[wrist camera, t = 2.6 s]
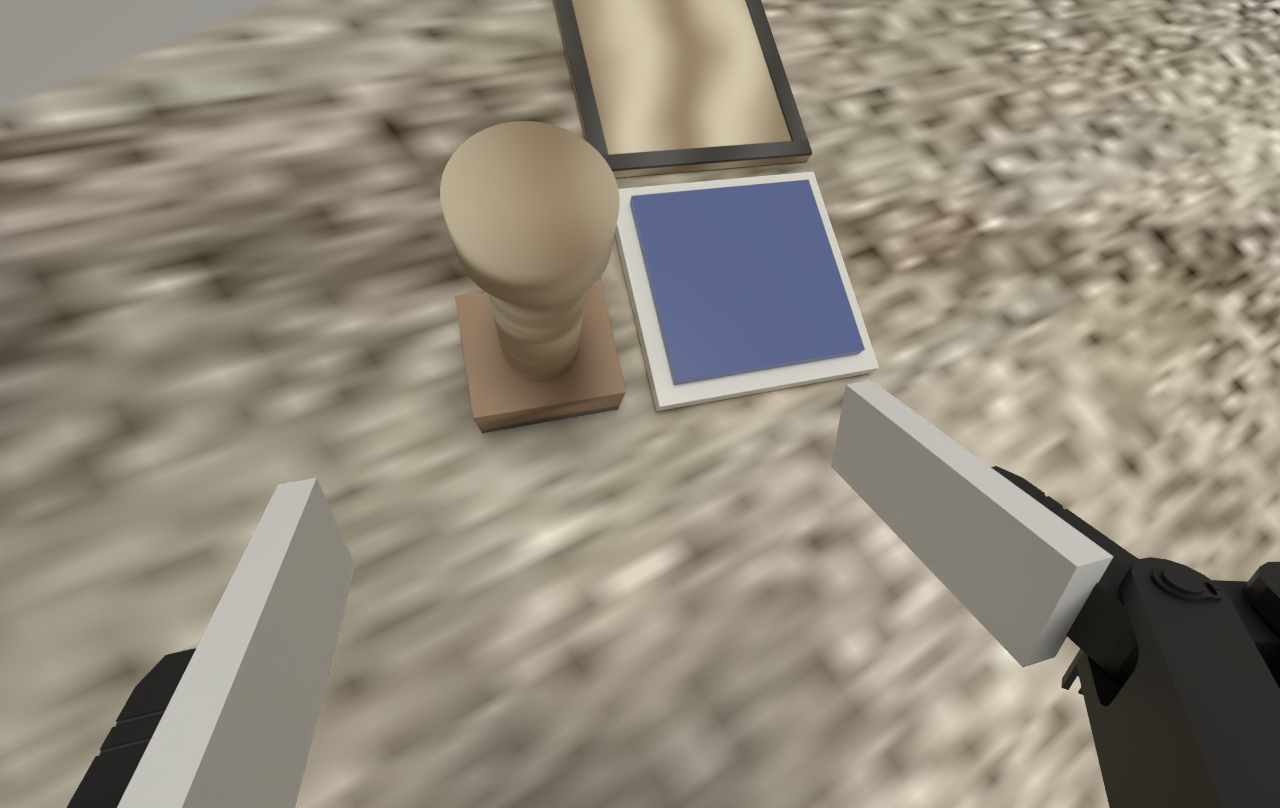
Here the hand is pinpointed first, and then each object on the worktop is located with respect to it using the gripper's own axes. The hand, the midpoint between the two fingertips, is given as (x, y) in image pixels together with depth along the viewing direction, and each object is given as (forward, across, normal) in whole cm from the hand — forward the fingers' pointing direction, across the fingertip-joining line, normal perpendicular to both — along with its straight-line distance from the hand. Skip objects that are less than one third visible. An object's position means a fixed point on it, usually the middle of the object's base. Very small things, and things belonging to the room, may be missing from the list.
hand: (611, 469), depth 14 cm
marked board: (+28, +11, +9) cm, 31 cm away
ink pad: (+17, +11, -2) cm, 21 cm away
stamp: (+15, -1, -4) cm, 16 cm away
